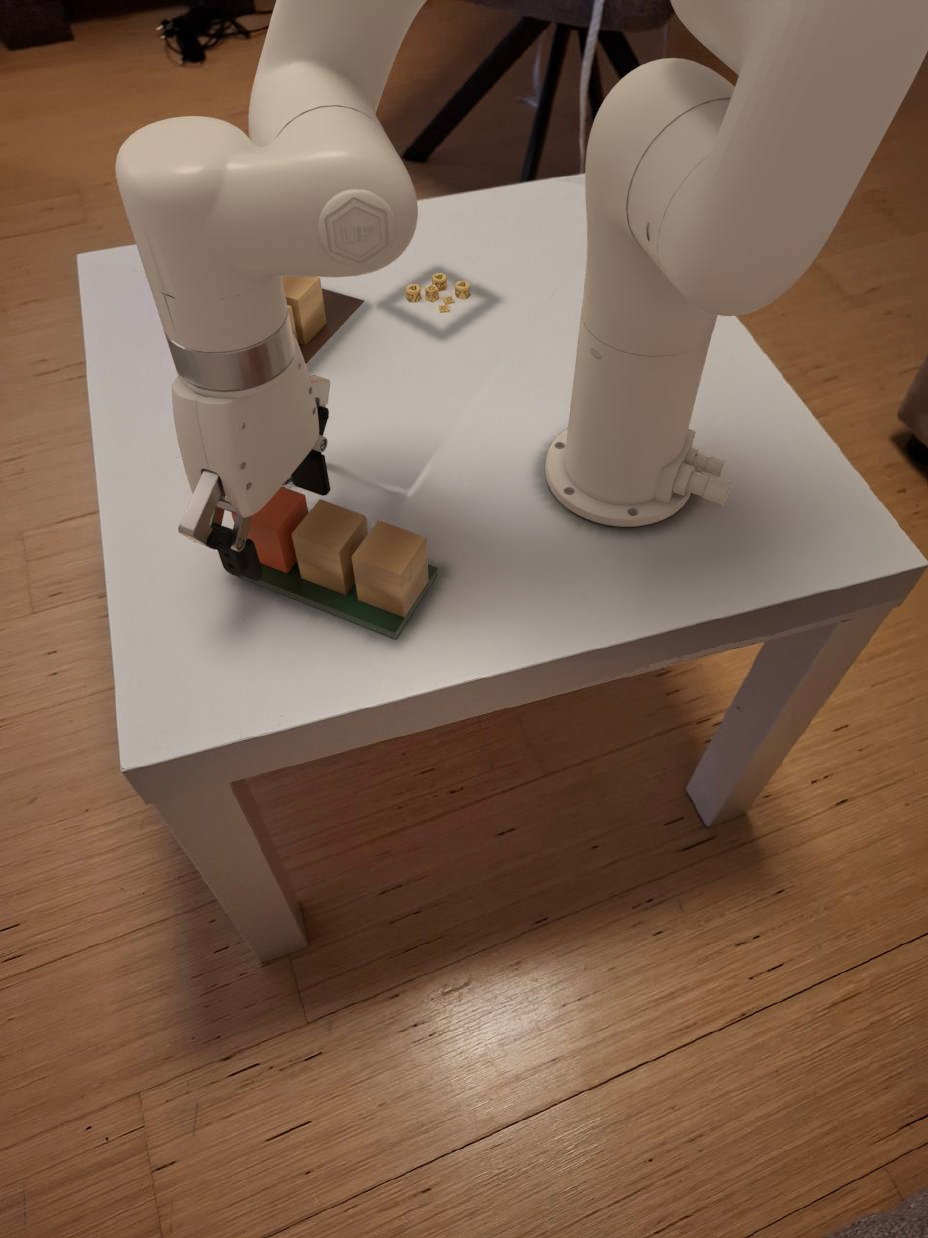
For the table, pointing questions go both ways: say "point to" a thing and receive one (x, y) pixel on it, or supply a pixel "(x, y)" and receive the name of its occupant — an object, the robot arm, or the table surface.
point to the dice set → (433, 291)
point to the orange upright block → (278, 528)
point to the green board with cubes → (355, 569)
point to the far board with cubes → (315, 312)
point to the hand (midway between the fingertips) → (279, 529)
